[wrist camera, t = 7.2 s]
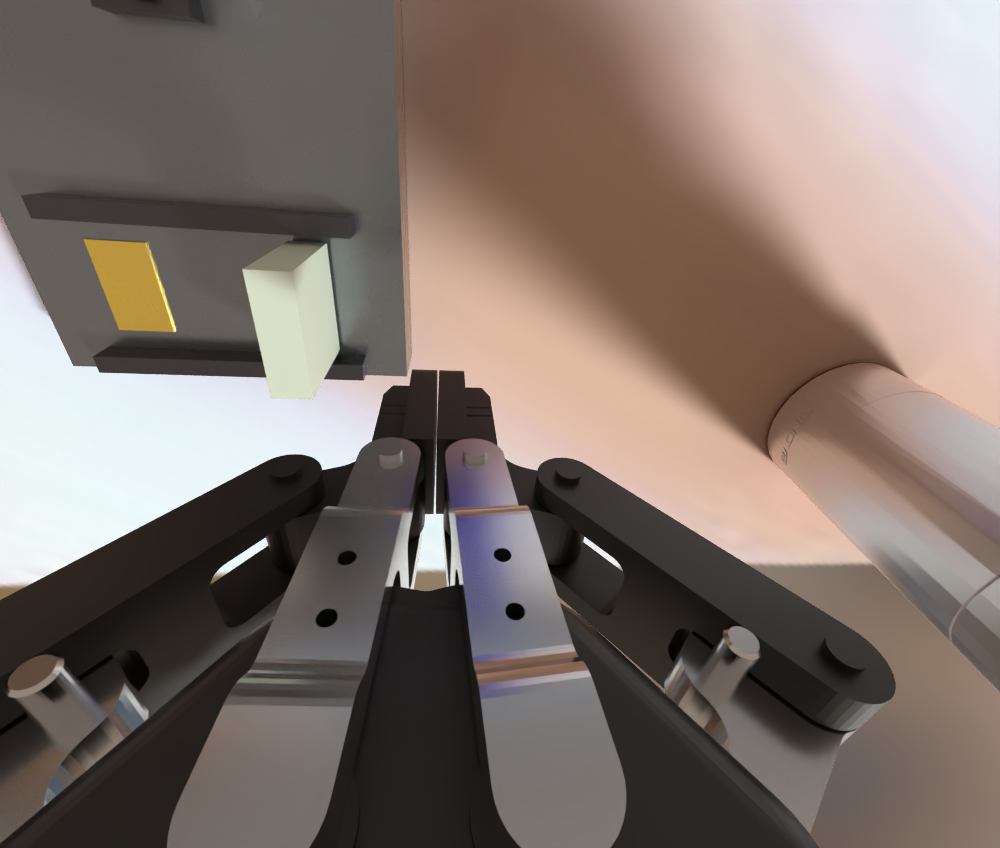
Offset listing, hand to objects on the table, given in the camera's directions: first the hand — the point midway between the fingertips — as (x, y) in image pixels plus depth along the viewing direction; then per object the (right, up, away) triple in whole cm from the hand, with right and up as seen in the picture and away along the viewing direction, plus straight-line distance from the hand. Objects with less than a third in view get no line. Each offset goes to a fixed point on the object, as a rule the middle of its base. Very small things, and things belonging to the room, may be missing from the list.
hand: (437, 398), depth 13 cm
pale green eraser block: (-7, +5, +8) cm, 11 cm away
